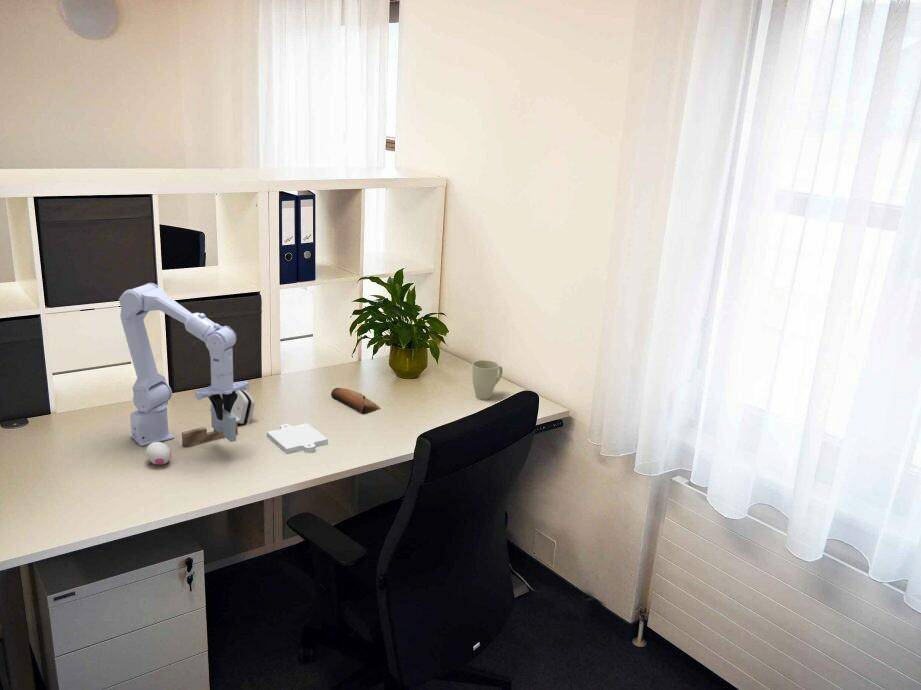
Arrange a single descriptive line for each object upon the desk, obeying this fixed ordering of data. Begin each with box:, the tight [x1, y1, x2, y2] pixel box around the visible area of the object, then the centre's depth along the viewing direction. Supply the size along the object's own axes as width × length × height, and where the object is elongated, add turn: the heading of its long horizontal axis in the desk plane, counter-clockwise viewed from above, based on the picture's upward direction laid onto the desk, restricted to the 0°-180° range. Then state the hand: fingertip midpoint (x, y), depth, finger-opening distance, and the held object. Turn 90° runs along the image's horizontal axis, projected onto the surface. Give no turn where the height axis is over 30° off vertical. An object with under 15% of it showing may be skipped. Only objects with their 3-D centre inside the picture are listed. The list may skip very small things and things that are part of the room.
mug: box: [472, 359, 503, 401], centre depth 267 cm, size 11×10×12 cm
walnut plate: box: [181, 421, 238, 448], centre depth 222 cm, size 16×2×4 cm, turn 132°
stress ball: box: [145, 441, 172, 467], centre depth 207 cm, size 8×8×7 cm
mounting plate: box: [266, 422, 329, 455], centre depth 226 cm, size 18×13×2 cm
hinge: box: [209, 390, 256, 425], centre depth 239 cm, size 17×5×10 cm, turn 44°
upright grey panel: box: [210, 403, 237, 443], centre depth 214 cm, size 2×12×7 cm, turn 42°
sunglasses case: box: [330, 387, 382, 415], centre depth 255 cm, size 18×7×7 cm
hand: (223, 418), depth 214 cm, fingers closed on upright grey panel, 1 cm apart
